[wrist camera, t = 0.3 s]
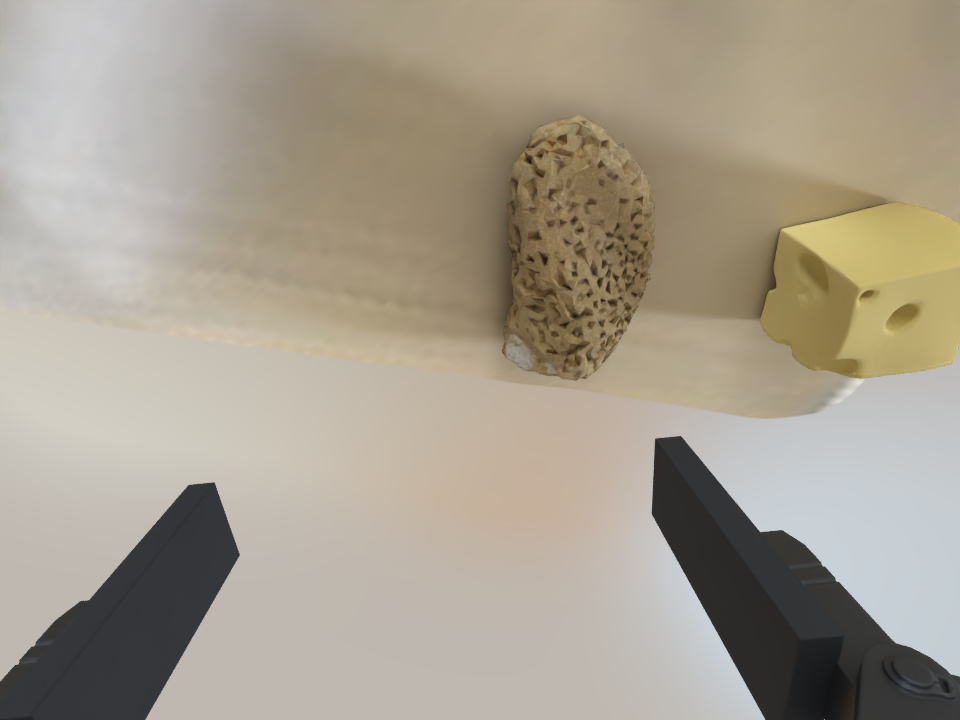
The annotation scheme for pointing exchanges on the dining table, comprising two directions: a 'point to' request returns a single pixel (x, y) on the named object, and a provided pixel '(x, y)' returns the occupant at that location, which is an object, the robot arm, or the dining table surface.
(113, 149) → the dining table surface
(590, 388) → the dining table surface
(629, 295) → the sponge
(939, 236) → the cheese
